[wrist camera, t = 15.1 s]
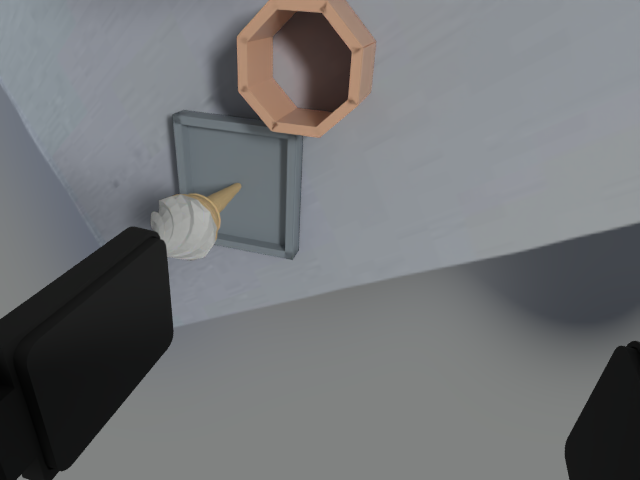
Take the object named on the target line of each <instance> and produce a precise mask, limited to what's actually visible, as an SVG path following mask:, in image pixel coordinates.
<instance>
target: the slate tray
mask: <svg viewBox="0 0 640 480" xmlns="http://www.w3.org/2000/svg"><path fill="white" fill-rule="evenodd" d="M173 126H174V137H175V148H176V158H177V169H178V180H179V191H180V194H187V195H188V194H200V195H203V196H205V197H208V196H210V195H211V194H214V193H216V192H218V191H220V190H222V189H225V188H227V187H229V186H231V185H233V184H235V183H240V184H241V189H240V190H239V192H238V193H237V194H236V195H235V196H234V197H233V198H232V200H231V201H230V202H229V203H228V204H227V206H226V207H225V208H224V209H223V210H222V211H221V212H220V219H221V223H220V228H219V230H218V233H217V239H216V242H215V244H214V245H218V246H223V247H228V248H233V249H239V250H244V251H249V252H254V253H259V254H265V255H270V256H275V257H280V258H286V259H291V260H293V258H294V257H295V255H296V254H297V252H298V251H299V228H300V202H301V177H302V152H303V136H302V135H295V134H287V133H280V132H272V131H271V130H270V129H269V128H268V126H267V125H266V124H265V123H264V122H263V120H257V119H249V118H241V117H234V116H226V115H218V114H210V113H203V112H195V111H187V110H183V111H180V112H178V113H175V114H173Z"/></svg>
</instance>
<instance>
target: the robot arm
mask: <svg viewBox="0 0 640 480" xmlns="http://www.w3.org/2000/svg"><path fill="white" fill-rule="evenodd" d="M172 338H173V320H172V308H171V297H170V285H169V273H168V261H167V249H166V243H165V241H164V240H162V239H160V236H159V234H158V233H157V232H156V231H151V230H147V229H143V228H138V227H129V228H127V229H126V230H124V231H123V232H121V233H120V234H119V235H117V236H116V237H114V238H113V239H112V240H110V241H109V242H107V243H106V244H105V245H103V246H102V247H101V248H99V249H98V250H97V251H95V252H94V253H92V254H91V255H89V256H88V257H87V258H85V259H84V260H82V261H81V262H80V263H78V264H77V265H75V266H74V267H73V268H71V269H70V270H68V271H67V272H66V273H64V274H63V275H62V276H60V277H59V278H57V279H56V280H54V281H53V282H52V283H50V284H49V285H47V286H46V287H45V288H43V289H42V290H41V291H39V292H38V293H37V294H35V295H34V296H32V297H31V298H29V299H28V300H27V301H25V302H24V303H23V304H21V305H20V306H18V307H17V308H15V309H14V310H13V311H11V312H10V313H8V314H7V315H6V316H4V317H3V318H1V319H0V480H17V478H18V477H19V476H20V475H21V474H22V477H23V478H26V479H29V480H52V479H53V478H54V477H55V476H56V474H57V473H58V472H59V471H64V470H66V469H68V468H69V467H70V466H71V465H72V464H73V463H74V462H75V461H76V459H77V458H78V457H79V456H80V454H81V453H82V452H83V451H84V450H85V448H86V447H87V446H88V445H89V443H90V442H91V441H92V439H94V437H95V436H96V435H97V434H98V433H99V431H100V430H101V429H102V427H103V426H104V425H105V424H106V423H107V422H108V420H109V419H110V418H111V417H112V416H113V414H114V413H115V412H116V411H117V410H118V408H119V407H120V406H121V405H122V403H123V402H124V401H125V400H126V399H127V397H128V396H129V395H130V394H131V393H132V391H133V390H134V389H135V388H136V386H137V385H138V384H139V383H140V382H141V380H142V379H143V378H144V377H145V375H146V374H147V373H148V372H149V371H150V369H151V368H152V367H153V365H155V363H156V362H157V361H158V360H159V358H160V357H161V356H162V355H163V354H164V352H165V351H166V350H167V349H168V347H169V346H170V344H171V342H172ZM565 459H566V465H567V470H568V475H569V479H570V480H640V342H638V341H632V342H630V343H629V344H628V345H627V346H626V347H625V346H619V347H617V348H616V349H615V351H614V353H613V355H612V356H611V358H610V360H609V362H608V364H607V366H606V368H605V369H604V371H603V373H602V375H601V377H600V379H599V381H598V382H597V384H596V386H595V388H594V390H593V392H592V394H591V395H590V397H589V399H588V401H587V403H586V405H585V407H584V408H583V410H582V412H581V414H580V416H579V418H578V420H577V422H576V423H575V425H574V427H573V429H572V431H571V433H570V435H569V436H568V439H567V441H566V445H565Z"/></svg>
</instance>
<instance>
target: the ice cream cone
mask: <svg viewBox="0 0 640 480" xmlns="http://www.w3.org/2000/svg"><path fill="white" fill-rule="evenodd" d="M240 189H241V184H240V183H235V184H233V185H231V186H229V187H227V188H225V189H222V190H220V191H218V192H216V193H214V194H211V195H210V196H208V197H205V196H203V195H200V194H188V195H187V194H176V195H173V196H170V197H168V198H165V199H162V200H159V211H158V213H157V212H154V211H153V212H152V213H151V227H152V229H153V230H154V231H156V232H157V233H158V234H159V236H160V239H162V240H164V241H165V243H166V249H167V257H172V258H178V259H183V260H190V261H192V260H196V259H200V258H204V257H205V256H206V255H207V253H208V252H209V250H210V249H211V248H212V246H213V245H214V244H215V242H216V239H217V233H218V230H219V228H220V223H221V219H220V212H221V211H222V210H223V209H224V208H225V207H226V206H227V204H228V203H229V202H230V201H231V200H232V198H233V197H234V196H235V195H236V194H237V193H238V192H239V190H240Z"/></svg>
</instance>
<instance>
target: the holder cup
mask: <svg viewBox="0 0 640 480" xmlns="http://www.w3.org/2000/svg"><path fill="white" fill-rule="evenodd" d="M297 11H305V12H319V13H323V15H324V16H325V17H326V19H327V20H328V21H329V23H330V24H331V25H332V27H333V28H334V29H335V30H336V32H337V33H338V34H339V36H340V37H341V38H342V40H343V41H344V42H345V43H346V45H347V46H348V47H349V49H350V50H351V51H352V57H351V69H350V81H349V94H348V100H347V101H346V102H344V103H343V104H342V105H341V106H340V107H339V108H337V109H336V110H335V111H334V112H328V111H320V110H311V109H303V108H297V107H296V106H295V105H294V103H293V102H292V101H291V100H290V98H289V97H288V96H287V95H286V94H285V92H284V91H283V90H282V89H281V87H280V86H279V85H278V84H277V83H276V81H275V80H274V79H273V36H274V35H275V34H276V33H277V32H278V31H279V30H280V29H281V28H282V27H283V26H284V24H285V23H286V22H287V21H288V20H289V19H290V18H291V17H292V16H293V15H294V14H295V13H296V12H297ZM375 41H376V40H375V39H374V38H373V36H372V35H371V34H370V32H369V31H368V30H367V28H366V27H365V26H364V24H363V23H362V22H361V20H360V19H359V18H358V16H357V15H356V14H355V12H354V11H353V10H352V8H351V7H350V6H349V4H348V3H347V2H346V0H269V1H268V2H267V3H266V4H265V6H264V7H263V8H262V9H261V10H260V11H259V12H258V13H257V14H256V16H255V17H254V18H253V19H252V20H251V21H250V22H249V23H248V24H247V26H246V27H245V28H244V29H243V30H242V31H241V32H240V33H239V35H238V36H237V64H238V91H239V93H240V94H241V95H242V97H243V98H244V99H245V100H246V101H247V103H248V104H249V105H250V106H251V107H252V109H253V110H254V111H255V112H256V113H257V114H258V116H259V117H260V118H261V119H262V120H263V122H264V123H265V124H266V125H267V126H268V128H269V129H270V130H271V131H272V132H280V133H287V134H295V135H302V136H310V137H317V138H319V137H321V136H322V135H323V134H325V133H326V132H327V131H328V130H329V129H331V128H332V127H333V126H334V125H335V124H337V123H338V122H339V121H340V120H341V119H343V118H344V117H345V116H346V115H347V114H348V113H350V112H351V111H352V110H353V109H354V108H356V107H357V106H358V105H359V104H360V103H361V102H362V101H363V100H364V99H365V98H366V97H367V96H368V95H369V94H370V93H371V88H372V78H373V68H374V59H375V49H376V42H375Z"/></svg>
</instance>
